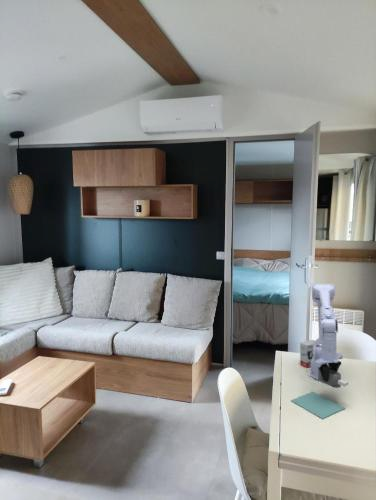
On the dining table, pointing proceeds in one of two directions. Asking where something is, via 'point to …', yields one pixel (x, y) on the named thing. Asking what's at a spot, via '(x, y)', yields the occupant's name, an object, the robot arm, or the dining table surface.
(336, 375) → the cylinder
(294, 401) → the charging mat
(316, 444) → the dining table surface
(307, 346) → the ink box
